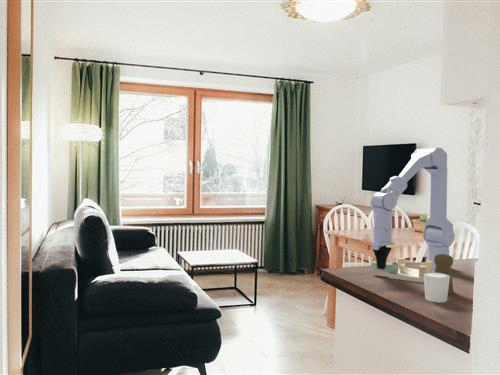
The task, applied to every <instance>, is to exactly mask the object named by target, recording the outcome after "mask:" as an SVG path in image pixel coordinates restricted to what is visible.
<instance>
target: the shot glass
mask: <svg viewBox="0 0 500 375" xmlns="http://www.w3.org/2000/svg"><path fill="white" fill-rule="evenodd" d="M449 280H450V276H449V275H447V274H443V273H436V272H435V271H434V272H427V273H424V283H423V285H424V300H426V301H428V302H431V303H440V304H441V303H447V301H448V295H449V294H448V288H449Z"/></svg>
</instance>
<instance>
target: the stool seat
mask: <svg viewBox="0 0 500 375" xmlns="http://www.w3.org/2000/svg"><path fill="white" fill-rule="evenodd" d="M397 264H398V273H391V272H388V279H393V280H399V279H400V280H402V281H408V282H413V283H422V284H424V273H427V272H435V271H433V261H427V260H426V261H425V262H424V264H425V265H421V264H420V265H419V266H418V268H417V269H416V268H409V267H406V257H398V258H397ZM400 280H399V281H400Z"/></svg>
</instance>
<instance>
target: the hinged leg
mask: <svg viewBox="0 0 500 375" xmlns="http://www.w3.org/2000/svg"><path fill="white" fill-rule="evenodd" d="M370 264H371V265H370V266H371V267H370V269H371V270H372V271H379V272H384V273H390V272H391V273H398V262H390V263H388V262H386V265H385V269H378V268H377V261H375V260H374V261H371V263H370Z"/></svg>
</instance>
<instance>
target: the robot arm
mask: <svg viewBox="0 0 500 375" xmlns="http://www.w3.org/2000/svg"><path fill="white" fill-rule="evenodd" d="M410 157H411V158H410V160H409V161H408V163H407V164H406V165H405V166H404V168H403V169H402V171H401V172H400V173H399V175H398V176H397V175H394V176H392V177H390V178H389V180H388V182H387V183H386V184H385V185H384V187H382V188H381V190H380V191H377V192H375V193H374V194H373V195H372V198H371V200H370V205H371V207H372V211H373V215H374V216H373V218H374V219H373V238H372V239H373V240H372V243H371V251H373V253H374V257H375V259H376V261H375V262H377V268H378V269H385V265H386V263H387V260H388V257H389V255H390V253H391V251H392V247H388V246H394V245H396V244H395V243H396V242H394V241H392V240H393V239H392V229H393V227H392V225H393V209H395V208H396V207H397V204H398V200H399V198H400V196H401V195H402V194H403V193H404V191H406V189H407V188H408V182H409V181H410V179H412V178H413V177H414V176H415V175H416V174H417V173H418V172H419V171H420V170H421V169H423V170H426V171H427V173H428V174H430V199H429V200H430V202H429V203H430V205H429V211H430V212H429V215H430V216H429V218H428V219H427V220H426V221H425V222H424V228H423V231H422V237H423V238H422V239H424V241H425V244H427V245H426V246H427V247H426V249H427V250H426V252H427V253H426V256H427V257H426V261H433V271H434V272H435V268H436V264H435V262H434V258H435V256H436V255H438V254H446V255H450V247H451V246H452V244H453V243H454V241H455V238H456V233H455V230H454V224H453V223H452V222H451V221H450V220H449V219H448V218H447V214H448V213H447V208H448V207H447V206H448V204H447V203H448V202H447V201H448V153H447V152H446V151H445V150H444V148H441V147H434V148H433V147H432V148H422V147H421V148H420V147H419V148H417V149H415V150H414V152H412V153H411V155H410ZM451 269H453V267H452V266H451Z"/></svg>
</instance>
